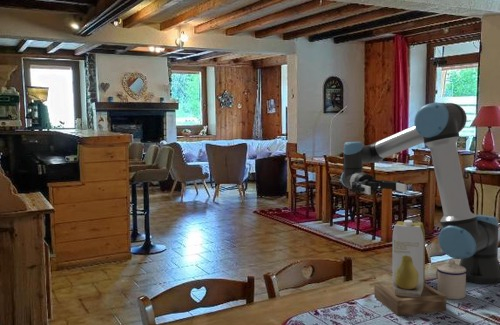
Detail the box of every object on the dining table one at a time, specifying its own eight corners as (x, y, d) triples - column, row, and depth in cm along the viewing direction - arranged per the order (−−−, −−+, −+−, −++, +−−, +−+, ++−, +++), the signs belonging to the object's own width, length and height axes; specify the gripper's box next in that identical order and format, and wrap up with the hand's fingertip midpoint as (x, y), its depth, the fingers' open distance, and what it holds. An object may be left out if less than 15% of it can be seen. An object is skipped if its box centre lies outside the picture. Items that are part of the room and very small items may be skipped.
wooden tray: (419, 292, 166) (419, 279, 166) (446, 310, 150) (446, 296, 150) (374, 297, 163) (374, 283, 163) (397, 315, 148) (397, 301, 147)
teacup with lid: (472, 298, 160) (473, 262, 159) (448, 301, 158) (449, 265, 157) (448, 286, 172) (448, 253, 171) (425, 289, 169) (425, 256, 168)
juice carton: (391, 296, 155) (391, 221, 153) (395, 288, 162) (395, 216, 160) (422, 300, 151) (423, 223, 149) (425, 291, 158) (425, 218, 156)
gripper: (392, 190, 196) (420, 198, 175) (332, 193, 191) (354, 202, 170) (392, 171, 195) (420, 177, 174) (332, 174, 191) (354, 180, 170)
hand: (387, 189), depth 172 cm, fingers open, 13 cm apart
